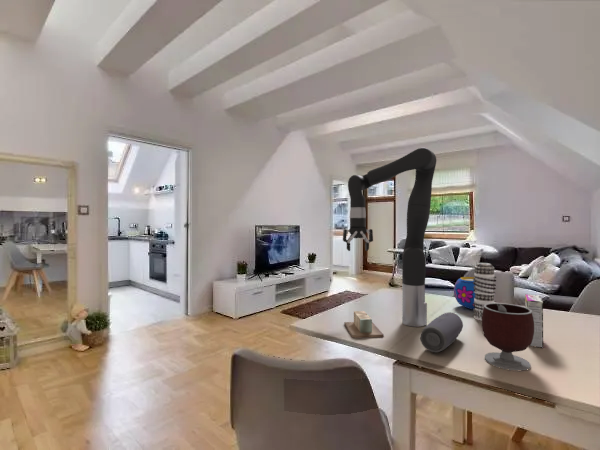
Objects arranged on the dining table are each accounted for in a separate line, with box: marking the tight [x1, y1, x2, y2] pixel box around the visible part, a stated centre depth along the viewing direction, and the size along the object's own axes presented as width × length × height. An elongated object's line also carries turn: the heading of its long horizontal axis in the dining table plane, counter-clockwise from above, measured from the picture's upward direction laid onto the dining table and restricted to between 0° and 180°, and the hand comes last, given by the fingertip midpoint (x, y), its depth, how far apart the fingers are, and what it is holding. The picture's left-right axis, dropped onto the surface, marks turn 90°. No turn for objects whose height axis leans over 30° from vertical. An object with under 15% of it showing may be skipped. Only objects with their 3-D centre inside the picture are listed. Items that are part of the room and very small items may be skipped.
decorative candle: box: [473, 262, 497, 321], centre depth 149 cm, size 9×9×25 cm
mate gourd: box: [481, 302, 534, 371], centre depth 102 cm, size 16×14×20 cm
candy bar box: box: [524, 294, 544, 349], centre depth 120 cm, size 11×5×16 cm, turn 148°
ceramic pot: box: [453, 276, 475, 310], centre depth 166 cm, size 18×18×15 cm
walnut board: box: [343, 321, 384, 339], centre depth 133 cm, size 12×16×1 cm
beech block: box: [353, 310, 373, 333], centre depth 134 cm, size 4×5×12 cm
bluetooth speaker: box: [419, 312, 464, 353], centre depth 117 cm, size 23×9×10 cm, turn 141°
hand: (357, 250), depth 158 cm, fingers open, 8 cm apart
